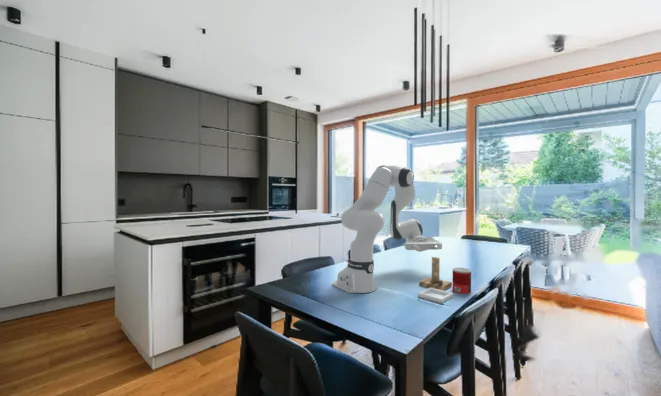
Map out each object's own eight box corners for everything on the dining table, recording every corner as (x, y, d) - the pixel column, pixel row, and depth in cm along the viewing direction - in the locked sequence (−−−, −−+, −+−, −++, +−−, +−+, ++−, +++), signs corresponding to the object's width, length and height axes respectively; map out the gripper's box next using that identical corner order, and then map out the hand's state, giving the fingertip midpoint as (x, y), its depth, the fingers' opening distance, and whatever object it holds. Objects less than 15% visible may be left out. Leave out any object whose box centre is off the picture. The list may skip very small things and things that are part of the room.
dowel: (430, 285, 148) (430, 257, 147) (433, 284, 150) (433, 256, 150) (437, 287, 145) (437, 258, 145) (440, 285, 148) (440, 257, 147)
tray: (418, 298, 133) (418, 292, 133) (430, 292, 141) (430, 287, 141) (442, 305, 125) (442, 299, 125) (453, 298, 133) (453, 293, 133)
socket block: (419, 287, 148) (419, 277, 148) (428, 282, 155) (429, 273, 155) (442, 293, 140) (442, 282, 140) (451, 288, 147) (451, 278, 147)
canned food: (472, 296, 136) (473, 272, 136) (454, 295, 138) (454, 271, 137) (468, 290, 143) (468, 268, 143) (451, 289, 145) (451, 267, 145)
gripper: (401, 238, 173) (408, 242, 159) (436, 237, 173) (446, 242, 160) (401, 249, 173) (408, 254, 159) (436, 248, 174) (446, 253, 160)
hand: (427, 248), depth 160 cm, fingers open, 8 cm apart
